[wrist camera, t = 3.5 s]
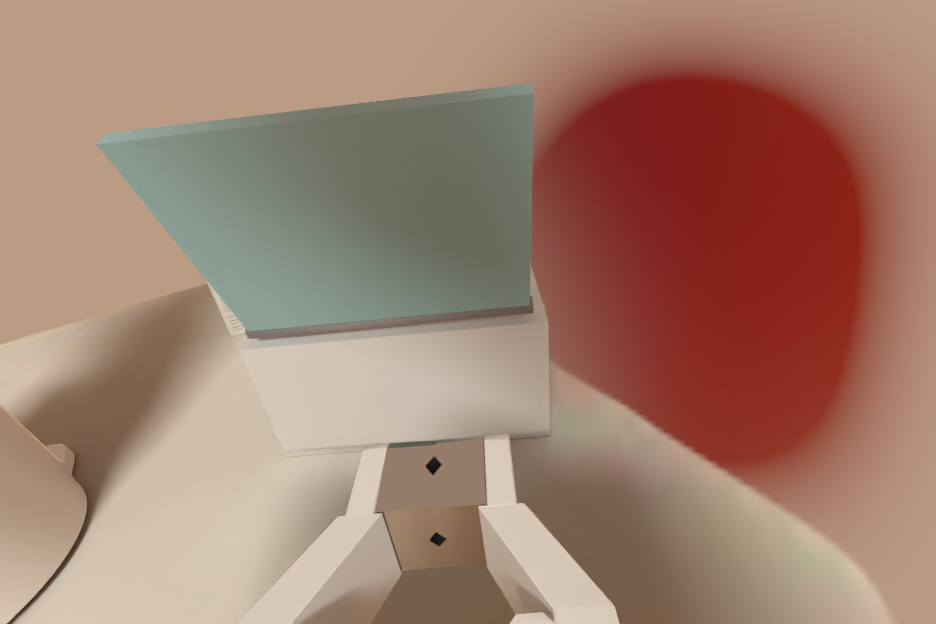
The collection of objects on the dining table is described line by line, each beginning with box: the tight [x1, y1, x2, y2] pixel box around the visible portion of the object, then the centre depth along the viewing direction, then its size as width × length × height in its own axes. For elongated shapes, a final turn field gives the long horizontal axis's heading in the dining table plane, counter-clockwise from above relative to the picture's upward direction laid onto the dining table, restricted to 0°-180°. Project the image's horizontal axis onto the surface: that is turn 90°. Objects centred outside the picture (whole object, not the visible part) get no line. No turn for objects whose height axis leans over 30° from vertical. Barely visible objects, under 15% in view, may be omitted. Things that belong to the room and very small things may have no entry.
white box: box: [238, 264, 550, 457], centre depth 33 cm, size 18×12×9 cm
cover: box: [97, 83, 533, 339], centre depth 21 cm, size 16×12×1 cm
